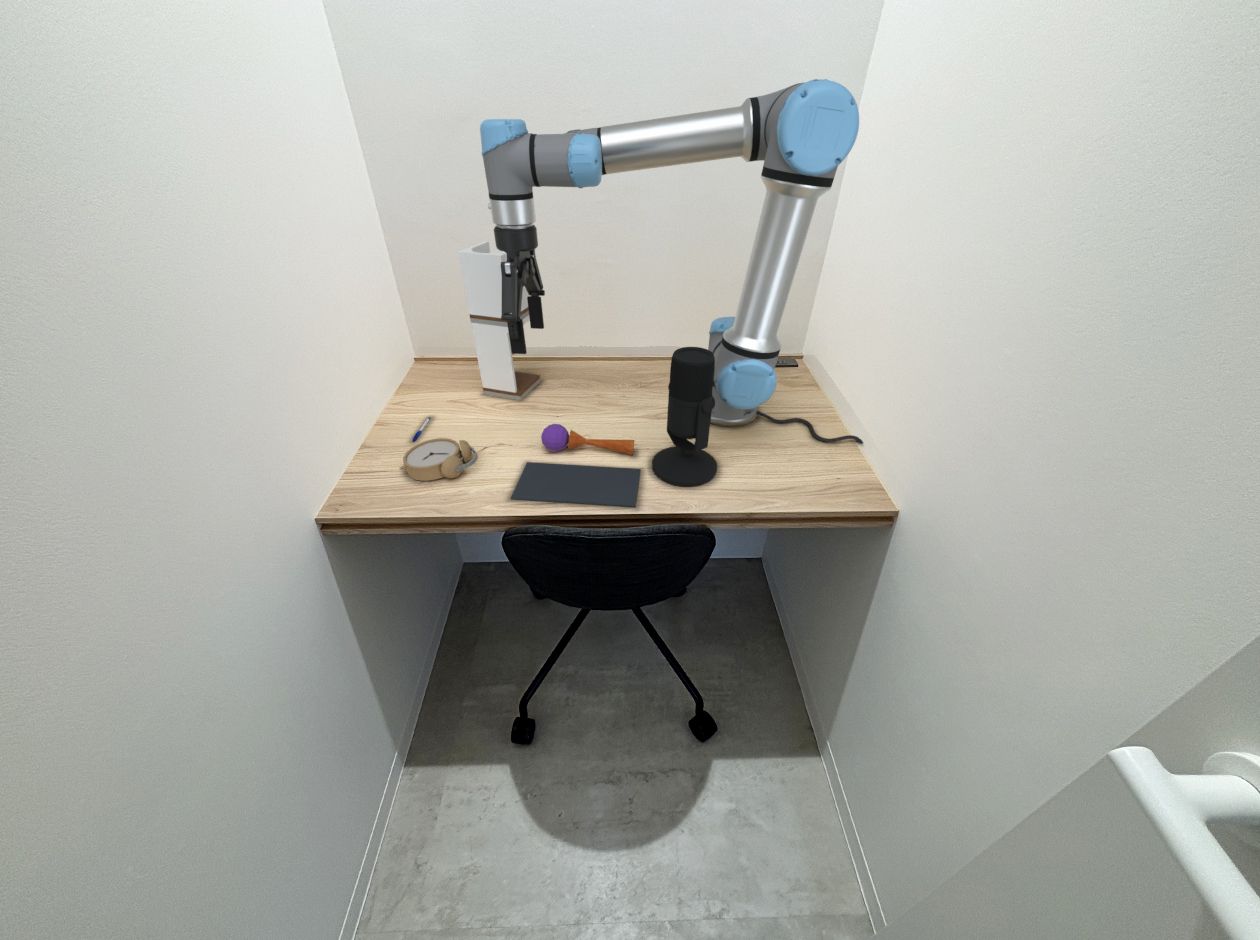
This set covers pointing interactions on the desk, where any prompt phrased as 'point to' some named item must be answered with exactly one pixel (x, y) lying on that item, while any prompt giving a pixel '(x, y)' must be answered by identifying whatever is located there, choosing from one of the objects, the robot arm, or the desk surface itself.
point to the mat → (578, 484)
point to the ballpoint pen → (420, 430)
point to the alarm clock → (438, 459)
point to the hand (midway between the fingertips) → (528, 340)
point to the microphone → (688, 420)
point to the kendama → (580, 440)
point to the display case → (493, 323)
